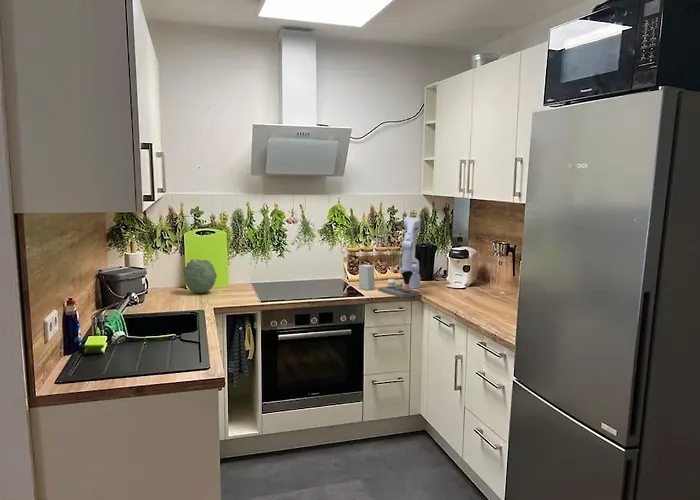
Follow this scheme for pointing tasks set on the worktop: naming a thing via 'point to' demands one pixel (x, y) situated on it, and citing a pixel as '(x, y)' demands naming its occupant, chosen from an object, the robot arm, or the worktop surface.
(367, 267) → the skincare box
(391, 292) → the panel
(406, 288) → the button terracotta
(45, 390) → the worktop surface
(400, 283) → the button sage
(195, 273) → the cabbage
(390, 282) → the button cream
